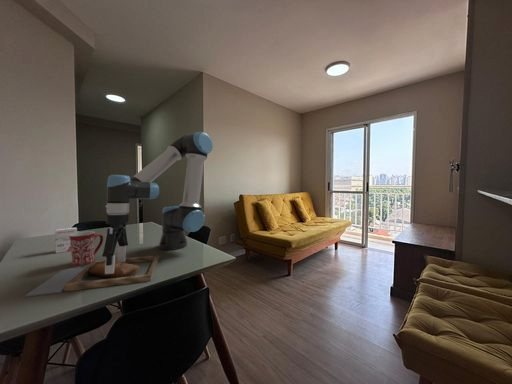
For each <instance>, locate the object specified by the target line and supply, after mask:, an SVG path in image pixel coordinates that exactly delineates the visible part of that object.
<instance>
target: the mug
mask: <svg viewBox="0 0 512 384" xmlns="http://www.w3.org/2000/svg"><path fill="white" fill-rule="evenodd" d="M69 237H70V243H71V251H70V252H71V262H72V266H77V267H78V266H85V265H88V264H89V265H90V264H91V263H93V262H94V261H95V257H94V256H95V255H96V254H97V252H99V251H100V248H101V247H102V245H103V243H104V236H103V235H102V234H99V233H96V232H95V231H91V230H89V231H88V230H87V231H86V230H84V231H79V232H78V231H77V233H73V234H70V235H69ZM98 237H99V243H98V244H97V247H96V248H95V240H96V238H98Z"/></svg>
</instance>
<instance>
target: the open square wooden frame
mask: <svg viewBox="0 0 512 384" xmlns="http://www.w3.org/2000/svg"><path fill="white" fill-rule="evenodd" d="M117 259H118V258H115V261H117ZM159 261H160V255H159V254H157V255H148V256H145V255H144V256H136V257H135V256H134V257H125V262H122V263H127V264H134V263H141V262H142V263H143V262H151V265H150V267H149V269H148V271H147V273H146V274H138V275H133V276H129V277H120V278H104V279H96V280H95V279H94V280H85V281H83V280H84V278H86V277H87V276H88V275H89V274H88V269H89V268H90V267H91V266H94V265H98V264H102V263H105V259H102V260H94V261H93V262H91V263H89V265H88V266H85V267H84V268H85V269H84V270H83V271H81V272H80V273H79V274H78V275H76V276H75V277H74V278H73V279H71V280H70V281H69V282H68V283H67V284H65V285H64V291H63V292H64V293H65V292H70V291H71V292H72V291H79V290H87V289H94V288H95V289H96V288H104V287H105V288H106V287H111V286H112V287H113V286H120V285H128V284H136V283H143V282H151V281H152V279H153V276H154V273H155V272H156V268H157V266H158V263H159Z"/></svg>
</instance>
